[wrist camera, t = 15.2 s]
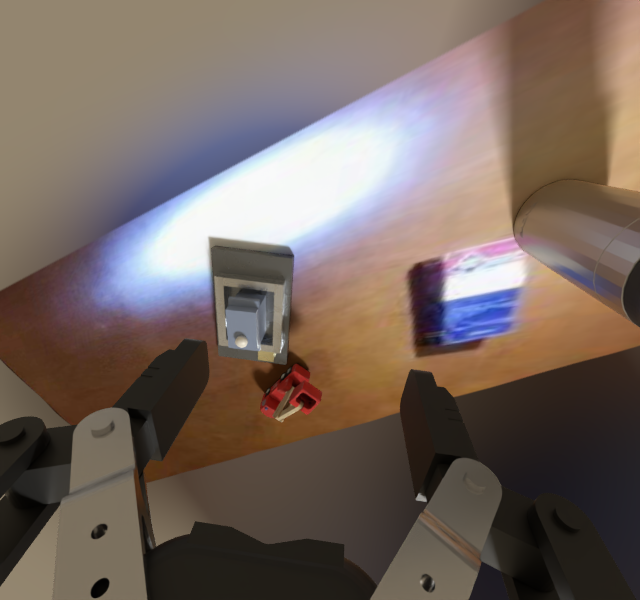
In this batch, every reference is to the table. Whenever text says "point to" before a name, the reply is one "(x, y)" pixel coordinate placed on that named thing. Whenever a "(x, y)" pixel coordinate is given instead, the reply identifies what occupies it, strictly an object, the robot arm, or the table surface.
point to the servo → (246, 321)
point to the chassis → (255, 278)
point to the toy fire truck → (290, 395)
